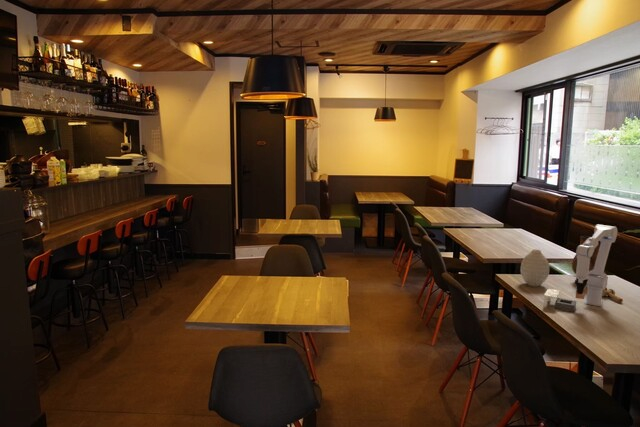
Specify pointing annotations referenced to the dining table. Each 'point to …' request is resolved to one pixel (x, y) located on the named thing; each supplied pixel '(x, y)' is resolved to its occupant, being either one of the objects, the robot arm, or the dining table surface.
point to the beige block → (550, 296)
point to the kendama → (611, 295)
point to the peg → (580, 294)
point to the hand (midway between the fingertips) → (580, 292)
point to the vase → (535, 268)
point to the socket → (565, 304)
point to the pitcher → (592, 258)
